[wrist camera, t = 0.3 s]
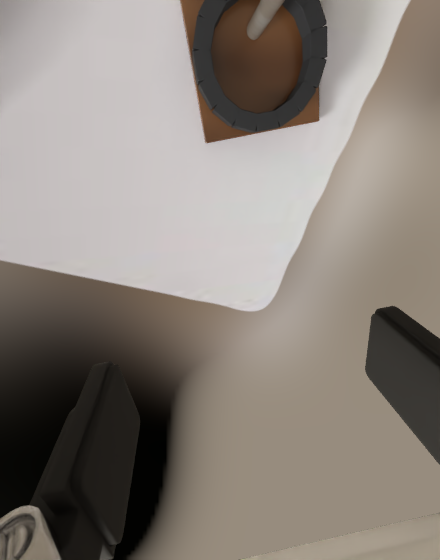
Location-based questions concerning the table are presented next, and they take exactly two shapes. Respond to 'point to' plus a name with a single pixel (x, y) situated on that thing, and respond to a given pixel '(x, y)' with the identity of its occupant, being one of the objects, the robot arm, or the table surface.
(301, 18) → the ring
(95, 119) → the table surface
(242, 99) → the stand
